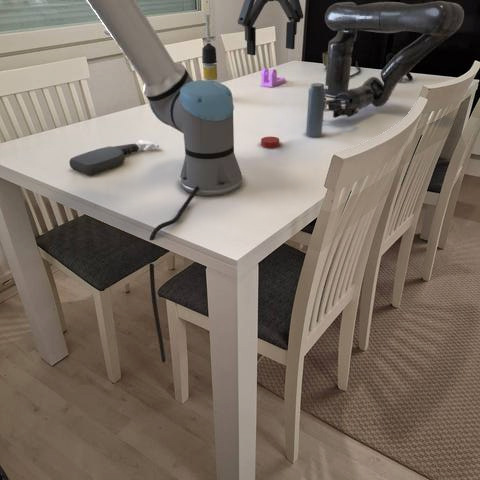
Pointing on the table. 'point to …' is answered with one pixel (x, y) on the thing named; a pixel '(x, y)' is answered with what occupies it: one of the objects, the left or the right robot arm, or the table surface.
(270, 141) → the lid
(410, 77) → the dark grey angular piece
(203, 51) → the bottle with thin stem
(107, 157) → the spray bottle
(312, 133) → the jar
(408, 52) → the right robot arm
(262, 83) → the bracket
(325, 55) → the cup
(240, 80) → the table surface
